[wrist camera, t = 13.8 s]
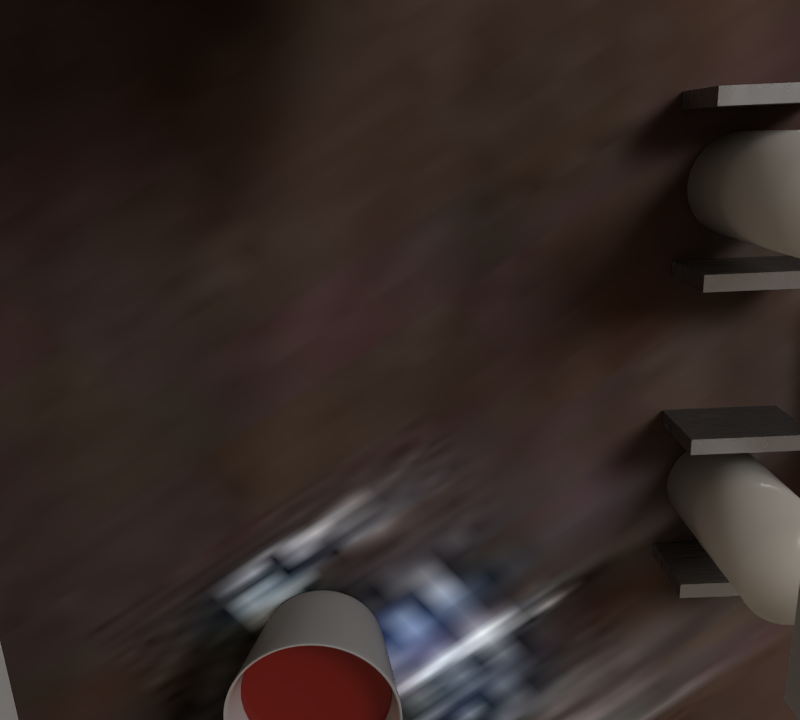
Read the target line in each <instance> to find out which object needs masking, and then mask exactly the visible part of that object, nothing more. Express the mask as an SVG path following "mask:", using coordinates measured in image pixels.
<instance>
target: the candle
mask: <svg viewBox="0 0 800 720" xmlns="http://www.w3.org/2000/svg"><path fill="white" fill-rule="evenodd" d="M223 718H224V720H402V708H401V703H400V699H399V695H398V691H397V687H396V683H395V679H394V675H393V671H392V668H391V664H390V660H389V656H388V652H387V648H386V644H385V641H384V637H383V634H382V631H381V628H380V626H379V623H378V621H377V620H376V618H375V616H374V615H373V614H372V612H371V611H370V610H369V609H368V608H367V607H366V606H365V605H364V604H362V603H361V602H359V601H358V600H356V599H355V598H353V597H351V596H348V595H346V594H343V593H340V592H335V591H327V590H317V591H310V592H305V593H302V594H299V595H297V596H294V597H292V598H290V599H289V600H287V601H286V602H284V603H283V604H282V605H281V606H279V607H278V608H277V609H276V611H275V612H274V613H273V614H272V616H271V617H270V618H269V620H268V622H267V623H266V625H265V626H264V628H263V630H262V632H261V633H260V635H259V637H258V638H257V640H256V642H255V644H254V645H253V647H252V649H251V651H250V652H249V654H248V656H247V658H246V659H245V661H244V663H243V665H242V666H241V668H240V670H239V672H238V673H237V675H236V677H235V679H234V680H233V682H232V684H231V686H230V688H229V691H228V693H227V696H226V699H225V704H224V712H223Z"/></svg>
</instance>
